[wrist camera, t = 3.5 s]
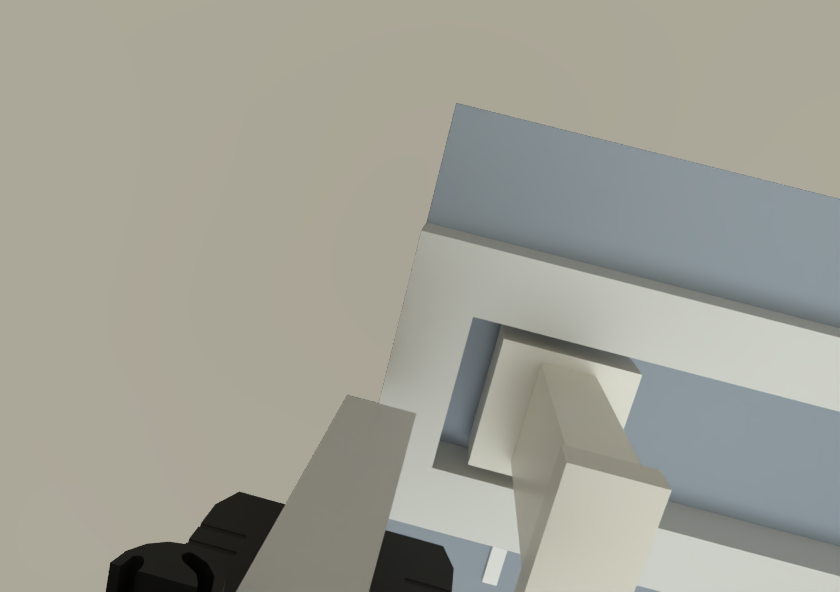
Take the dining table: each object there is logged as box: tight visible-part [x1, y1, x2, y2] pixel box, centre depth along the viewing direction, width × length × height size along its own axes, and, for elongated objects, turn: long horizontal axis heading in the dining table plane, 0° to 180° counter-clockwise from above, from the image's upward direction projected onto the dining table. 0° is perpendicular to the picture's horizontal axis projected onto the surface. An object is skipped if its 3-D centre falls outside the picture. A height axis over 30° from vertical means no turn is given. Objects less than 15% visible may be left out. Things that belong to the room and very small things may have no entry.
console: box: [379, 103, 840, 592], centre depth 21 cm, size 16×24×4 cm, turn 76°
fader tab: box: [468, 324, 672, 592], centre depth 17 cm, size 4×4×8 cm
